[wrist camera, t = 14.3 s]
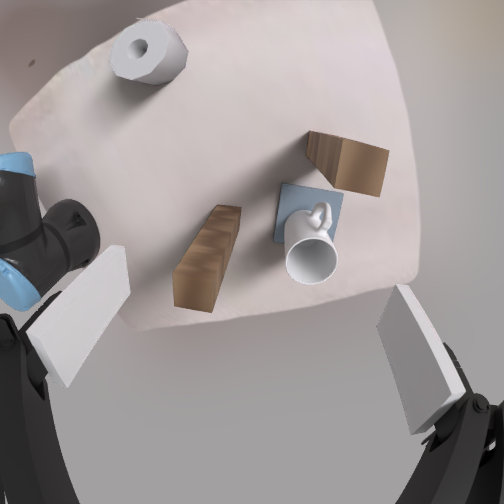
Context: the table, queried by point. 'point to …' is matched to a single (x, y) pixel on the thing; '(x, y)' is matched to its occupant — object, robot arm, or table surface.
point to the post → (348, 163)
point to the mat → (305, 206)
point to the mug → (310, 245)
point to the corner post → (206, 261)
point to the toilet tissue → (148, 53)
